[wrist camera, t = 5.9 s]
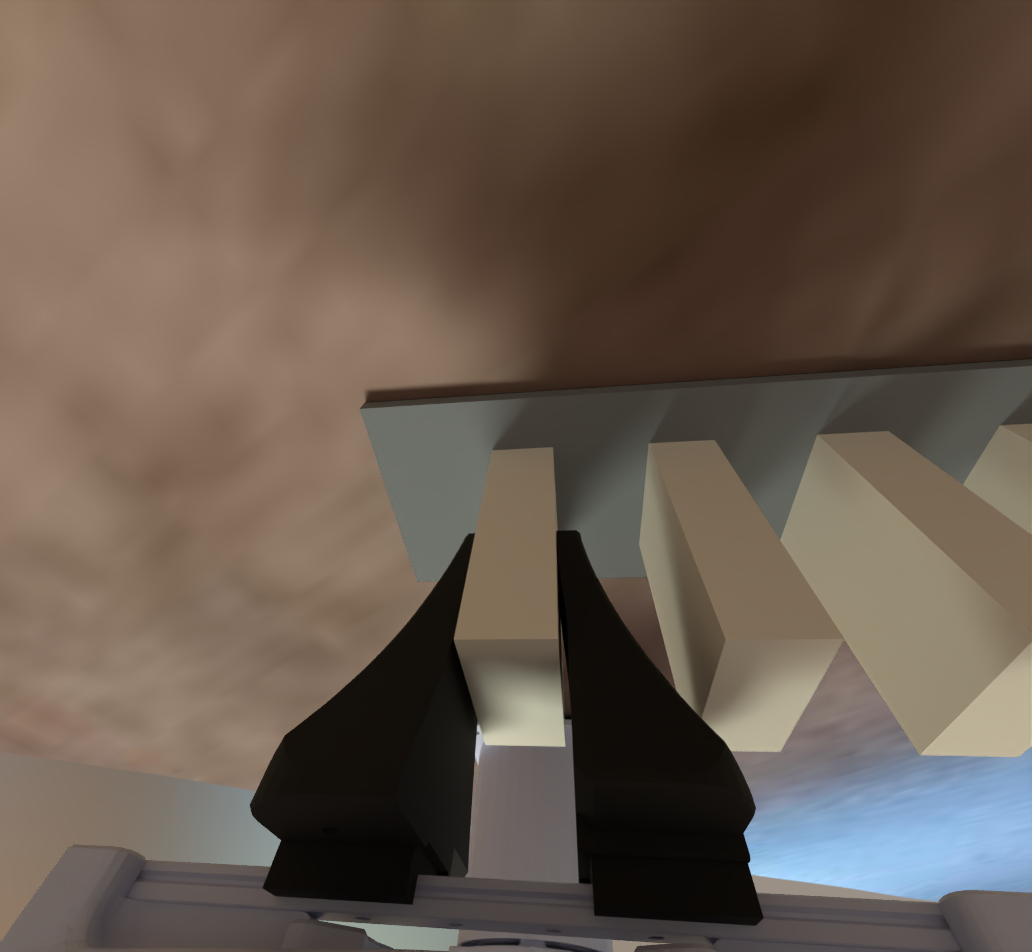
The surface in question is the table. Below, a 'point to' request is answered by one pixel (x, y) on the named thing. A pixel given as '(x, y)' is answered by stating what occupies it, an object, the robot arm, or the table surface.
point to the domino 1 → (515, 605)
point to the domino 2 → (729, 599)
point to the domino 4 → (1006, 474)
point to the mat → (670, 418)
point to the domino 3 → (921, 591)
